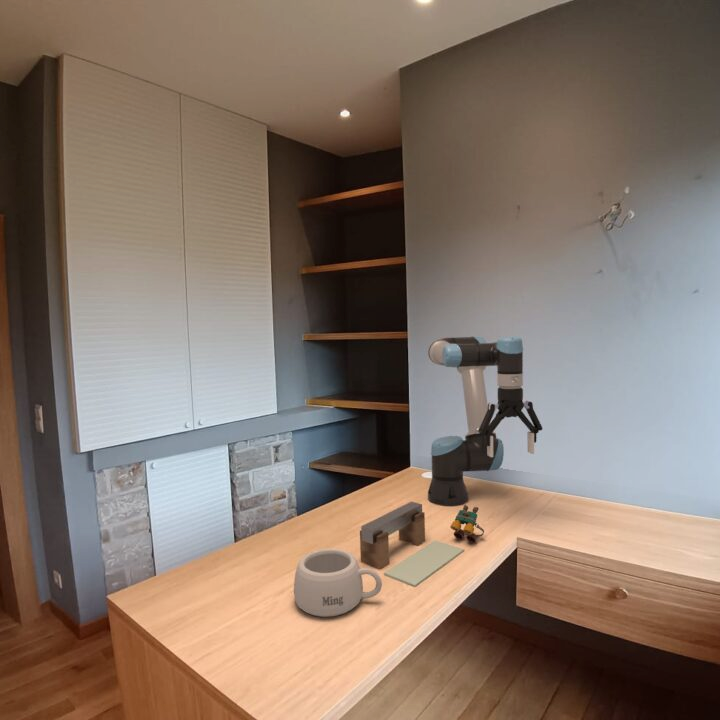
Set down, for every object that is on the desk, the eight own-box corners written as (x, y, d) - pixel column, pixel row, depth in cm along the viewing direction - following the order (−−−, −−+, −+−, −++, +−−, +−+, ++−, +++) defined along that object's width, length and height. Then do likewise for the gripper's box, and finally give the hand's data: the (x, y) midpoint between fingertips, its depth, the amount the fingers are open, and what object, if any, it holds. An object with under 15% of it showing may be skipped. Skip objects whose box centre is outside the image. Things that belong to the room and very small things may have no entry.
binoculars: (453, 542, 150) (444, 522, 145) (463, 519, 156) (455, 498, 151) (481, 550, 145) (473, 529, 140) (491, 525, 150) (484, 504, 146)
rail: (361, 540, 133) (361, 526, 133) (411, 513, 151) (411, 501, 151) (372, 544, 130) (372, 530, 130) (422, 516, 148) (422, 504, 148)
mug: (284, 618, 110) (283, 576, 109) (305, 580, 126) (303, 543, 125) (377, 625, 106) (376, 581, 105) (386, 585, 122) (385, 547, 122)
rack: (360, 562, 135) (359, 530, 135) (406, 535, 152) (405, 507, 151) (380, 569, 131) (379, 537, 130) (425, 541, 147) (424, 512, 146)
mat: (384, 574, 128) (383, 572, 128) (434, 541, 147) (434, 540, 146) (415, 587, 121) (415, 585, 121) (464, 550, 140) (464, 549, 140)
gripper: (477, 390, 143) (478, 460, 145) (553, 386, 147) (554, 454, 149) (467, 387, 151) (468, 454, 152) (540, 383, 155) (541, 448, 156)
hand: (510, 454), depth 150 cm, fingers open, 13 cm apart
